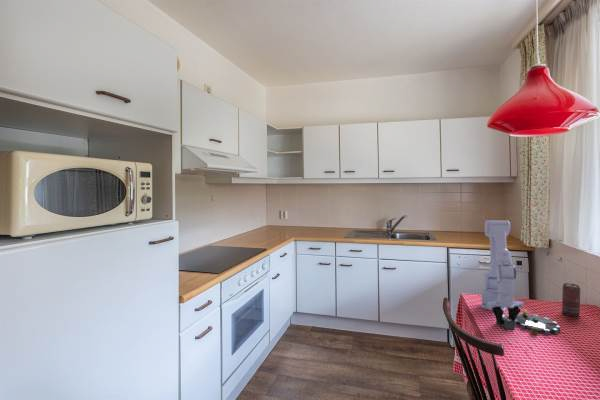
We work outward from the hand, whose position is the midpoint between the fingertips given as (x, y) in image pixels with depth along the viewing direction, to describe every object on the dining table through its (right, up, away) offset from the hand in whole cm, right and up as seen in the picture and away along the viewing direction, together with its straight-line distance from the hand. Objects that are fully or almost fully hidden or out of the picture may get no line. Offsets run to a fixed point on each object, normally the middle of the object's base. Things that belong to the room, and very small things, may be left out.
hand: (505, 323), depth 131 cm
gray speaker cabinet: (0, -1, 0) cm, 1 cm away
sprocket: (+13, -1, +1) cm, 13 cm away
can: (+37, 0, +10) cm, 39 cm away
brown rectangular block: (+7, -2, -7) cm, 10 cm away
